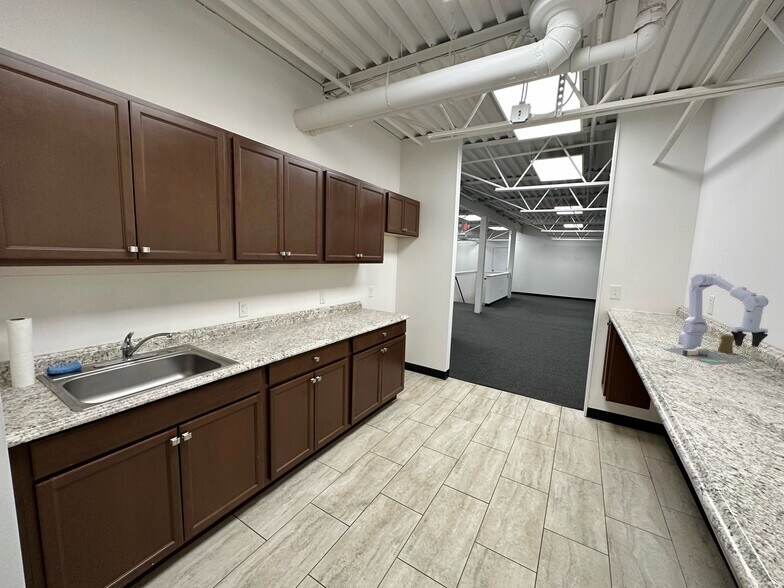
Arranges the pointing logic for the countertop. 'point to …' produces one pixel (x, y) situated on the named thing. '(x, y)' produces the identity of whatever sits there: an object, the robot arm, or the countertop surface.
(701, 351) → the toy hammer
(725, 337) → the cork
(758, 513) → the countertop surface
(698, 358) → the board
